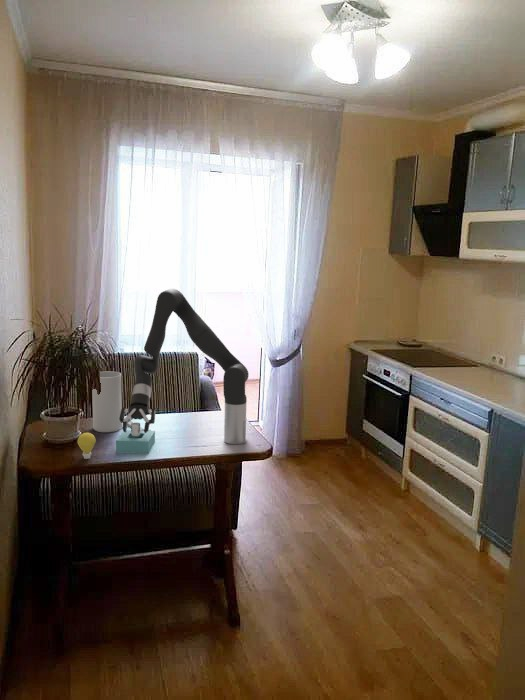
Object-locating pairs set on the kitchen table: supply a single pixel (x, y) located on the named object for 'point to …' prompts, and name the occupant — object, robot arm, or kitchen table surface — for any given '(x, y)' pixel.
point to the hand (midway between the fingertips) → (135, 431)
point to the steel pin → (135, 430)
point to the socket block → (135, 442)
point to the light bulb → (86, 444)
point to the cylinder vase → (107, 403)
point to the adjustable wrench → (132, 422)
